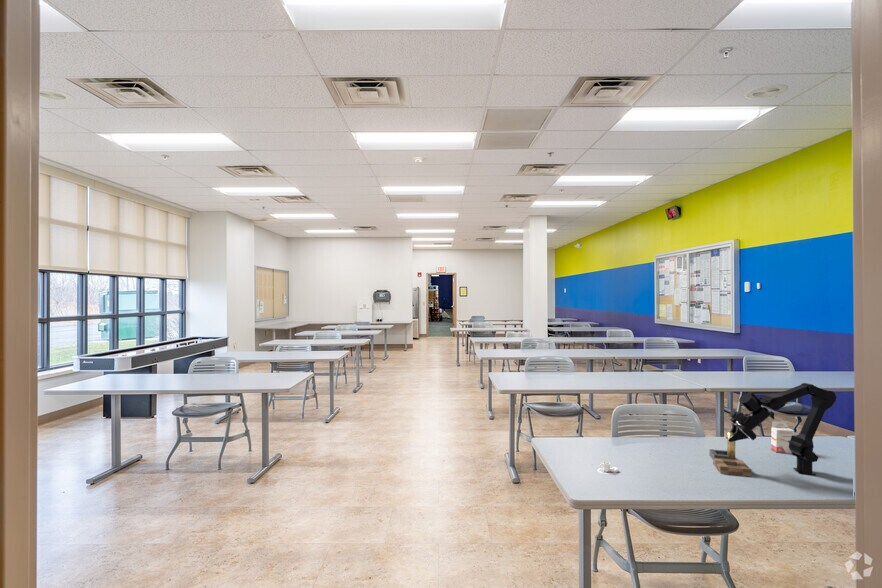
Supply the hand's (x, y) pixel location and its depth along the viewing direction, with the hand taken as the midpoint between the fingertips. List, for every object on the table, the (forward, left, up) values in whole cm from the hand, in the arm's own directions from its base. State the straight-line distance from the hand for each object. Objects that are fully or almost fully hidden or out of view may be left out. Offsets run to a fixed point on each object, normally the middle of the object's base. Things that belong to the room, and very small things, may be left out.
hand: (728, 440), depth 217 cm
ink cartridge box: (+37, -34, -14) cm, 52 cm away
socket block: (+15, -1, -14) cm, 20 cm away
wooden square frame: (0, -1, -14) cm, 14 cm away
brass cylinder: (0, -1, -8) cm, 8 cm away
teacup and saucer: (-21, +51, -14) cm, 57 cm away
